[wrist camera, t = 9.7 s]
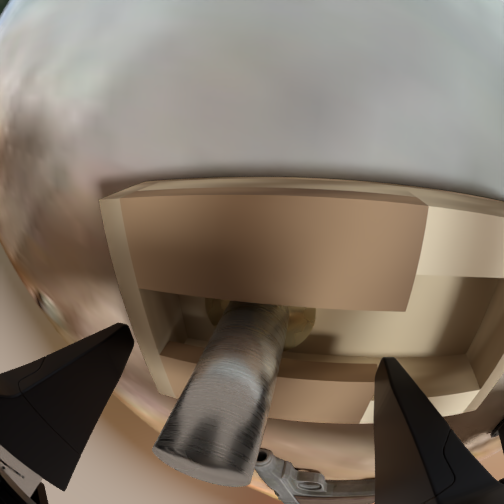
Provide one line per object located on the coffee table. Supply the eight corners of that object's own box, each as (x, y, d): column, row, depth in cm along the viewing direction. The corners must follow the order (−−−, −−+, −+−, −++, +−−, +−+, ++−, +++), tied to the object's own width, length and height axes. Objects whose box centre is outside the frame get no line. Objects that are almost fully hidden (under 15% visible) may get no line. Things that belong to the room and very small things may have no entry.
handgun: (393, 464, 13) (241, 468, 17) (376, 505, 18) (280, 508, 22) (391, 432, 16) (250, 439, 20) (377, 485, 21) (285, 489, 25)
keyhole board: (524, 206, 7) (564, 230, 4) (462, 372, 11) (475, 410, 8) (145, 181, 11) (98, 200, 8) (181, 356, 15) (159, 393, 12)
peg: (320, 253, 10) (307, 455, 3) (311, 342, 12) (287, 503, 5) (207, 247, 11) (85, 392, 4) (218, 332, 13) (149, 468, 6)
